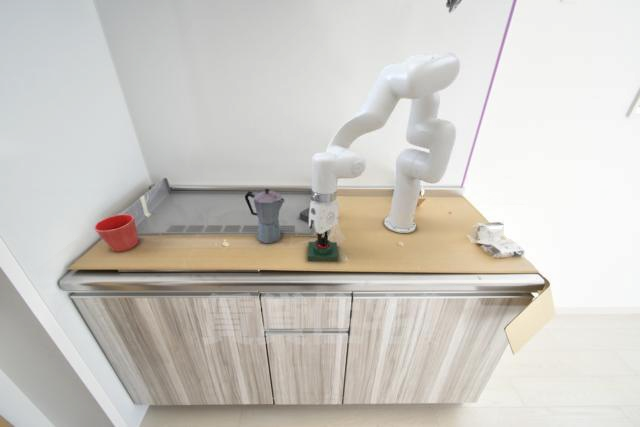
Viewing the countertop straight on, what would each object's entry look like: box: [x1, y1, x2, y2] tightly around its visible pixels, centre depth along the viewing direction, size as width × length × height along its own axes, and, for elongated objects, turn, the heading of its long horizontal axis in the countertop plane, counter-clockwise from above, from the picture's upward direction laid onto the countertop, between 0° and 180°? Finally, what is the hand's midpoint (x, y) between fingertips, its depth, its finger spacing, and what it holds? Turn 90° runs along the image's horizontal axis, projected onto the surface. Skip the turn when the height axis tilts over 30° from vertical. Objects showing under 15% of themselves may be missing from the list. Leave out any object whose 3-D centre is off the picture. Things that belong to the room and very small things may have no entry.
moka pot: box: [244, 188, 286, 244], centre depth 87 cm, size 10×15×20 cm, turn 78°
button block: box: [307, 239, 339, 263], centre depth 82 cm, size 10×8×4 cm
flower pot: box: [94, 213, 139, 252], centre depth 83 cm, size 11×11×10 cm
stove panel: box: [299, 207, 310, 224], centre depth 105 cm, size 12×10×3 cm
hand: (322, 244), depth 81 cm, fingers closed
